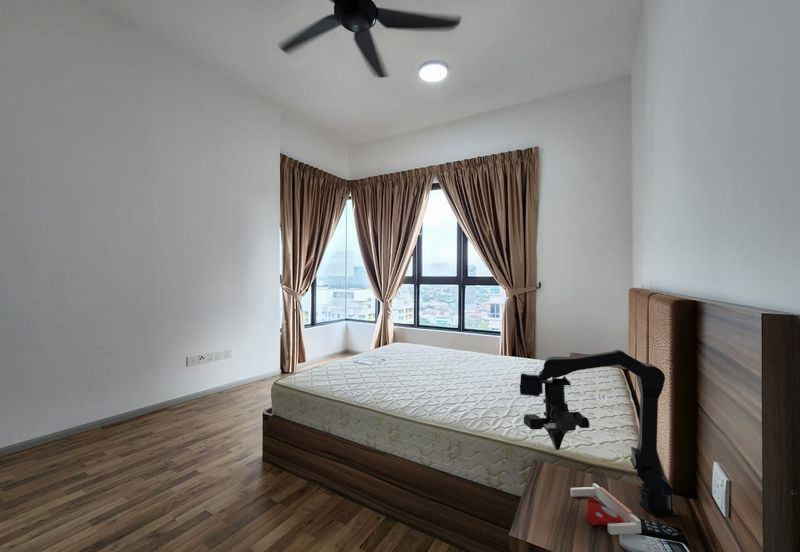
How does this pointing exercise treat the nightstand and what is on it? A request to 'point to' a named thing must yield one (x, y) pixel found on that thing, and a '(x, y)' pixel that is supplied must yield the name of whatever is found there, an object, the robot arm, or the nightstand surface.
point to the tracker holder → (600, 513)
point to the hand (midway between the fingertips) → (557, 449)
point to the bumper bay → (615, 505)
